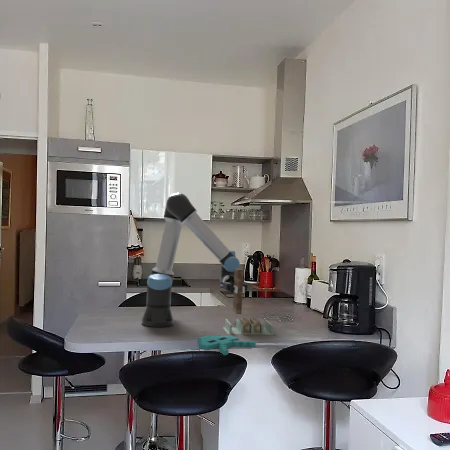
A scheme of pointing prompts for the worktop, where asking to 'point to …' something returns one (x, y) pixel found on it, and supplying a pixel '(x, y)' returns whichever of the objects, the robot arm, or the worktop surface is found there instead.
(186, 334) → the worktop surface
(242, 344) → the alien figure
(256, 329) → the pine offcut
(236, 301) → the walnut panel
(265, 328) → the slot rack
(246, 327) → the pine offcut
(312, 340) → the worktop surface
